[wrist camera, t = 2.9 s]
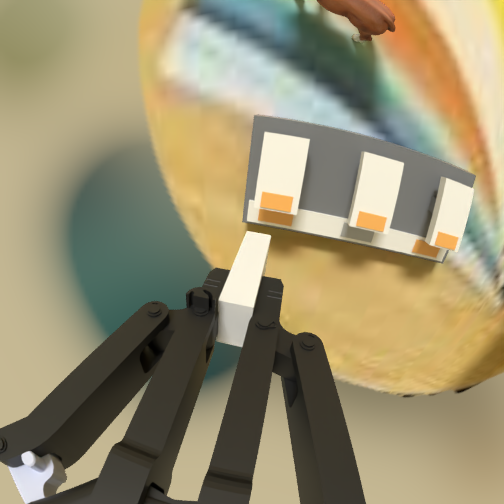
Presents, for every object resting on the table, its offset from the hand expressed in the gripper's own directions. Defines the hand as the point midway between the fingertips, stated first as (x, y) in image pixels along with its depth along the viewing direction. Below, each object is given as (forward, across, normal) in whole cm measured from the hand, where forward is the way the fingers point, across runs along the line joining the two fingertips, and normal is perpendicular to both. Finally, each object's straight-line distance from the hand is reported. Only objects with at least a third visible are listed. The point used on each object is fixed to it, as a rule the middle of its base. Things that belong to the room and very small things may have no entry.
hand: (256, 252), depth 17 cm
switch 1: (+10, 0, -3) cm, 10 cm away
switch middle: (+10, -10, -3) cm, 14 cm away
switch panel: (+14, -10, -2) cm, 17 cm away
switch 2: (+10, -18, -3) cm, 21 cm away
